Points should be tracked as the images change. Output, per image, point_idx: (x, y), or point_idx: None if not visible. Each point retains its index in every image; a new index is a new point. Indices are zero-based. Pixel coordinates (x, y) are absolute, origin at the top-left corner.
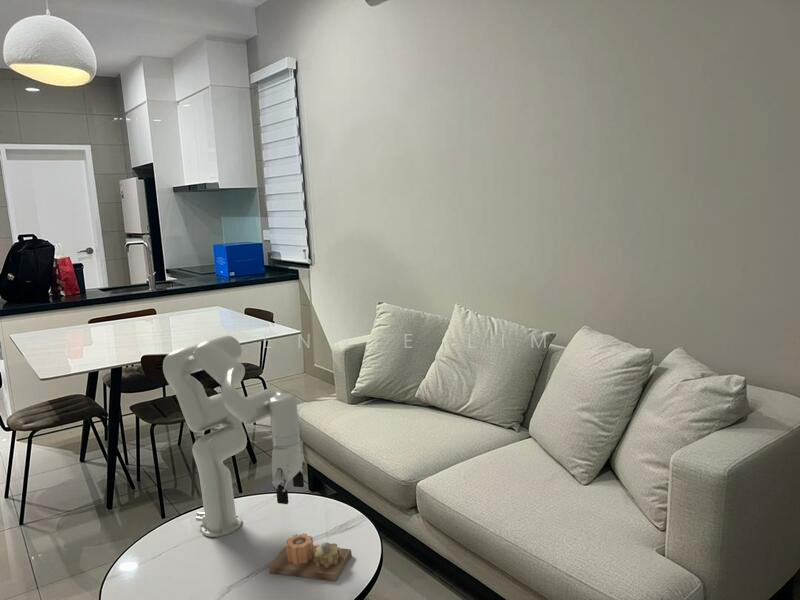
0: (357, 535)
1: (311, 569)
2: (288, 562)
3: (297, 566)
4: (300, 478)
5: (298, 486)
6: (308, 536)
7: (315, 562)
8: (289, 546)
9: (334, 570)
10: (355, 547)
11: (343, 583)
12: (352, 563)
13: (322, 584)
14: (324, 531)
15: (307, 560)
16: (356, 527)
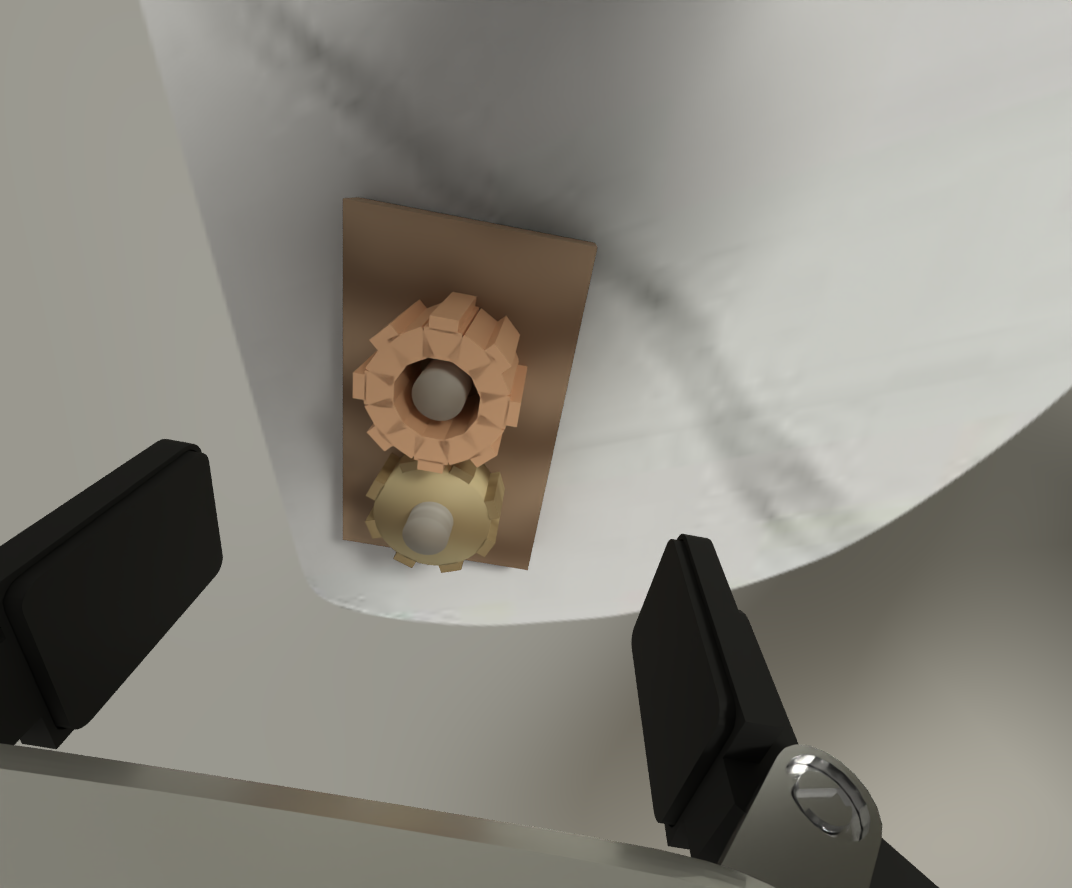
0: None
1: (359, 440)
2: (397, 309)
3: None
4: (654, 751)
5: (646, 600)
6: (486, 443)
7: None
8: (379, 348)
9: (369, 532)
10: (595, 552)
11: (352, 544)
12: None
13: (330, 474)
14: (757, 399)
15: None
16: (762, 536)
